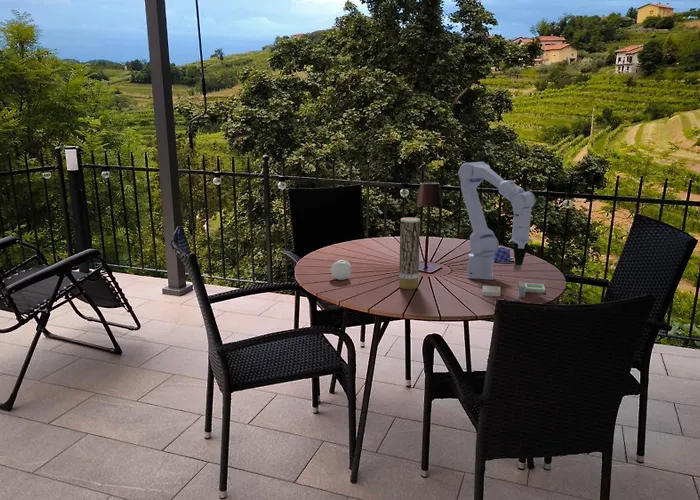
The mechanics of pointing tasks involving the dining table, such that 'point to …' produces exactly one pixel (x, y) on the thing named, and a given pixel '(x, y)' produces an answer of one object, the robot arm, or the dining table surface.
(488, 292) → the tile
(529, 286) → the tray
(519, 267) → the dowel
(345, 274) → the white lumpy ball
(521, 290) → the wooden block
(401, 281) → the paper tube
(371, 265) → the dining table surface
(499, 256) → the multicoloured piece
